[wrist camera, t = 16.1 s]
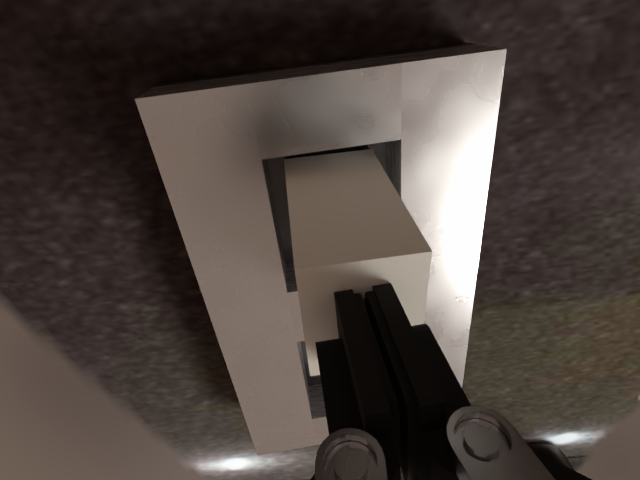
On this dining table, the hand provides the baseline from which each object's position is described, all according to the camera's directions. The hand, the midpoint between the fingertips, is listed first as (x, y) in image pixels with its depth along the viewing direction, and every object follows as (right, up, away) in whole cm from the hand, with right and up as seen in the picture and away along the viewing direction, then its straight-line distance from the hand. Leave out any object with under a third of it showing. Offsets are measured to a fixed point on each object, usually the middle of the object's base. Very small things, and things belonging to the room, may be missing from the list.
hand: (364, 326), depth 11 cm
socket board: (0, +1, +9) cm, 9 cm away
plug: (-1, +4, +6) cm, 7 cm away
